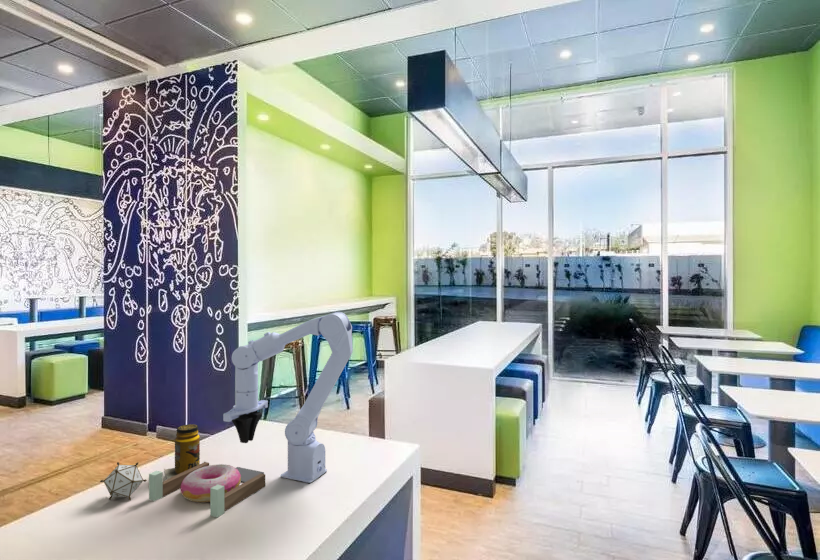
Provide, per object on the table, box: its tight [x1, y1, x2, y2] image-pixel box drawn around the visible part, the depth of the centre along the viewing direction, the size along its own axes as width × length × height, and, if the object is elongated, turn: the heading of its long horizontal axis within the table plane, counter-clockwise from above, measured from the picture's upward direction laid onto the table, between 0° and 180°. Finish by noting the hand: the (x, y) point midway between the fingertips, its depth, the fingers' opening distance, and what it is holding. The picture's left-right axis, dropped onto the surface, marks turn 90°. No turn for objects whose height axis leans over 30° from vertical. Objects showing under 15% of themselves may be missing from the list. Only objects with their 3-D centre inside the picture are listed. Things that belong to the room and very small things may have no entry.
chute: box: [148, 461, 266, 518], centre depth 111 cm, size 21×16×6 cm
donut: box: [180, 463, 242, 503], centre depth 111 cm, size 14×13×5 cm
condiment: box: [164, 423, 201, 480], centre depth 123 cm, size 7×8×12 cm
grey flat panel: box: [235, 466, 265, 484], centre depth 121 cm, size 9×6×1 cm
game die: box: [99, 461, 148, 501], centre depth 109 cm, size 9×8×10 cm
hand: (246, 441), depth 122 cm, fingers closed
